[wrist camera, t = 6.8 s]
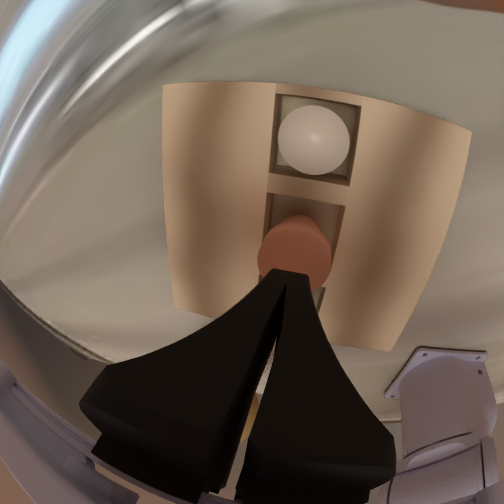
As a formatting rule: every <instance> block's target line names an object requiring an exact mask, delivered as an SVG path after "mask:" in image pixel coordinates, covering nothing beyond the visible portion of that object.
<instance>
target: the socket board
mask: <svg viewBox="0 0 504 504" xmlns="http://www.w3.org/2000/svg"><path fill="white" fill-rule="evenodd" d="M309 105H314V106H321V107H324V108H327V109H329V110H331V111H333V112H334V113H335V114H337V115H338V116H339V117H340V118H341V120H342V121H343V122H344V124H345V126H346V128H347V130H348V133H349V139H350V144H349V150H348V153H347V156H346V158H345V160H344V161H343V162H342V163H341V165H340V166H338V167H337V168H336V169H334V170H333V171H331V172H328V173H325V174H321V175H310V174H305V173H302V172H300V171H298V170H296V169H295V168H293V167H292V166H291V165H289V164H288V163H287V161H286V160H285V159H284V157H283V156H282V154H281V152H280V149H279V145H278V131H279V128H280V125H281V123H282V121H283V120H284V118H285V117H286V116H287V115H288V114H289V113H290V112H292V111H293V110H295V109H297V108H300V107H303V106H309ZM471 134H472V132H471V131H469V130H467V129H464V128H462V127H460V126H457V125H455V124H452V123H450V122H447V121H445V120H442V119H440V118H437V117H434V116H431V115H428V114H426V113H423V112H420V111H417V110H413V109H410V108H407V107H404V106H400V105H397V104H393V103H390V102H386V101H382V100H378V99H374V98H370V97H365V96H361V95H356V94H351V93H346V92H340V91H335V90H329V89H322V88H315V87H308V86H300V85H290V84H279V83H264V82H232V81H225V82H193V83H178V84H167V85H163V99H162V169H163V193H164V209H165V223H166V235H167V246H168V256H169V265H170V274H171V282H172V290H173V297H174V304H175V307H176V308H179V309H183V310H186V311H190V312H194V313H197V314H201V315H205V316H208V317H212V318H216V319H217V318H218V317H220V316H221V315H222V314H224V313H225V312H226V311H228V310H229V309H230V308H231V307H233V306H234V305H235V304H236V303H238V302H239V301H240V300H241V299H242V298H244V297H245V296H246V295H247V294H248V293H249V292H250V291H251V290H252V289H253V288H254V287H255V286H256V285H257V284H258V283H259V282H260V281H261V280H262V279H263V277H262V275H261V273H260V271H259V268H258V263H257V256H258V252H259V249H260V247H261V245H262V243H263V241H264V239H265V237H266V235H267V234H268V232H269V231H270V230H271V229H272V228H274V227H275V226H277V225H278V224H280V223H282V222H283V221H284V220H285V219H286V218H288V217H290V216H292V215H306V216H309V217H311V218H313V219H314V220H316V221H317V222H318V223H319V225H320V226H321V228H322V231H323V234H324V235H325V236H326V238H327V239H328V241H329V244H330V247H331V270H330V273H329V276H328V278H327V280H326V281H325V282H324V283H323V284H322V285H321V286H320V287H319V288H317V289H316V290H314V291H312V296H313V300H314V303H315V307H316V310H317V313H318V316H319V319H320V321H321V324H322V327H323V329H324V332H325V334H326V336H327V339H328V341H329V343H333V344H339V345H346V346H352V347H359V348H366V349H373V350H381V351H389V352H391V350H392V349H393V347H394V345H395V344H396V342H397V340H398V338H399V337H400V335H401V333H402V331H403V330H404V328H405V326H406V324H407V322H408V320H409V318H410V317H411V315H412V313H413V311H414V309H415V307H416V305H417V303H418V301H419V299H420V297H421V295H422V292H423V290H424V288H425V286H426V284H427V282H428V279H429V277H430V275H431V272H432V270H433V268H434V265H435V263H436V260H437V258H438V255H439V253H440V250H441V248H442V245H443V242H444V240H445V237H446V234H447V231H448V228H449V225H450V222H451V219H452V216H453V213H454V209H455V206H456V203H457V199H458V195H459V192H460V188H461V184H462V180H463V176H464V171H465V167H466V162H467V157H468V152H469V147H470V141H471Z"/></svg>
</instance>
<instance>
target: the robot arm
mask: <svg viewBox="0 0 504 504" xmlns="http://www.w3.org/2000/svg"><path fill="white" fill-rule="evenodd" d="M276 337H277V339H276ZM275 340H276V345H275V352H274V358H273V363H272V366H271V370H270V373H269V377H268V380H267V383H266V386H265V390H264V393H263V396H262V399H261V402H260V405H259V408H258V411H257V414H256V417H255V420H254V423H253V426H252V429H251V432H250V435H249V437H248V443H247V448H246V453H245V459H244V464H243V467H242V471H241V473H240V476H239V479H238V482H237V485H236V494H235V497H234V501H233V500H229V499H225V498H222V497H218V496H214V495H211V494H208V493H209V491H210V492H213V493H216V494H218V493H219V491H220V489H222V488H224V487H225V486H226V483H227V480H228V477H229V474H230V471H231V468H232V465H233V462H234V459H235V455H236V452H237V449H238V446H239V443H240V440H241V437H242V433H243V430H244V427H245V424H246V421H247V417H248V414H249V411H250V408H251V404H252V401H253V398H254V394H255V392H256V389H257V386H258V383H259V381H260V379H261V376H262V374H263V371H264V369H265V366H266V364H267V361H268V358H269V356H270V353H271V351H272V348H273V345H274V343H275ZM487 357H488V354H487V353H486V352H469V351H453V350H440V349H429V348H418V349H417V350H416V351H415V352H414V354H413V355H412V357H411V358H410V360H409V361H408V363H407V364H406V365H405V367H404V368H403V370H402V371H401V372H400V374H399V375H398V377H397V378H396V379H395V381H394V382H393V383H392V384H391V386H390V387H389V388H388V390H387V391H386V392H385V393H384V398H387V399H400V406H401V424H402V460H399V461H396V451H395V443H394V437H393V435H392V434H391V433H390V432H389V431H388V430H387V429H386V428H385V426H384V425H383V424H382V423H381V422H380V421H379V420H378V418H377V417H376V416H375V415H374V414H373V412H372V411H371V410H370V409H369V407H368V406H367V405H366V403H365V402H364V400H363V399H362V398H361V396H360V395H359V393H358V392H357V390H356V389H355V387H354V386H353V384H352V383H351V381H350V380H349V378H348V376H347V375H346V373H345V372H344V370H343V368H342V366H341V365H340V363H339V361H338V359H337V357H336V355H335V353H334V351H333V349H332V347H331V345H330V343H329V341H328V339H327V336H326V334H325V332H324V329H323V327H322V324H321V321H320V319H319V316H318V313H317V310H316V307H315V303H314V300H313V296H312V292H311V287H310V279H309V276H308V275H307V274H302V273H297V272H292V271H286V270H281V269H276V268H273V269H271V270H270V271H269V272H268V273H267V274H266V276H265V277H264V278H263V279H262V280H261V281H260V282H259V283H258V284H257V285H256V286H255V287H254V288H253V289H252V290H251V291H250V292H249V293H248V294H247V295H246V296H245V297H244V298H242V299H241V300H240V301H239V302H238V303H236V304H235V305H234V306H233V307H231V308H230V309H229V310H228V311H226V312H225V313H224V314H222V315H221V316H220V317H218V318H217V319H215V320H214V321H212V322H211V323H209V324H208V325H206V326H205V327H203V328H201V329H200V330H198V331H196V332H194V333H192V334H191V335H189V336H187V337H185V338H183V339H181V340H179V341H177V342H175V343H173V344H170V345H168V346H166V347H163V348H161V349H159V350H156V351H154V352H151V353H149V354H146V355H143V356H140V357H137V358H133V359H130V360H126V361H123V362H119V363H115V364H111V365H107V366H106V367H105V368H104V370H103V371H102V372H101V373H100V374H99V375H98V376H97V378H96V379H95V380H94V382H93V383H92V385H91V386H90V388H89V389H88V390H87V392H86V393H85V394H84V396H83V397H82V399H81V400H80V402H79V406H80V409H81V411H82V412H83V413H84V414H85V415H86V417H87V418H88V419H89V420H90V421H91V422H92V423H93V424H94V425H95V426H96V427H97V428H98V429H99V430H100V431H101V432H102V435H101V436H100V438H99V439H98V441H97V442H96V441H94V440H93V439H91V438H89V437H88V436H86V435H85V434H83V433H82V432H80V431H79V430H78V429H76V428H75V427H73V426H72V425H70V424H69V423H68V422H66V421H65V420H64V419H62V418H61V417H60V416H59V415H57V414H56V413H54V412H53V411H52V410H51V409H50V408H48V407H47V406H46V405H45V404H44V403H43V402H41V401H40V400H39V399H38V398H37V397H35V396H34V395H33V394H32V393H31V392H30V391H29V390H28V389H27V388H26V387H25V386H23V384H22V383H20V382H19V381H18V380H17V378H16V376H15V375H14V374H13V372H12V371H11V370H10V369H9V367H8V366H7V365H6V364H5V363H4V362H3V361H2V360H1V358H0V457H1V459H2V460H3V462H4V463H5V465H6V466H7V468H8V469H9V471H10V472H11V474H12V475H13V476H14V478H15V479H16V481H17V482H18V483H19V485H20V486H21V487H22V488H23V490H24V491H25V492H26V493H27V495H28V496H29V497H30V498H31V499H32V501H33V502H34V503H35V504H136V503H137V500H138V499H139V495H138V494H137V493H135V492H133V491H131V490H129V489H127V488H125V487H124V486H122V485H120V484H118V483H116V482H115V481H113V480H111V479H109V478H107V477H106V476H104V475H102V474H101V473H99V472H98V471H96V469H95V464H94V462H95V463H97V464H99V465H100V466H102V467H103V468H105V469H107V470H109V471H110V472H112V473H114V474H115V475H117V476H119V477H121V478H123V479H124V480H126V481H128V482H130V483H132V484H134V485H136V486H138V487H140V488H142V489H144V490H146V491H148V492H150V493H152V494H155V495H157V496H159V497H161V498H164V499H166V500H169V501H171V502H173V503H176V504H364V503H367V502H368V500H369V493H370V490H371V489H374V488H376V487H378V486H380V485H381V488H380V491H379V495H378V504H504V480H502V481H500V482H499V476H498V463H497V454H496V448H495V440H494V438H492V437H489V435H490V434H491V432H492V431H493V428H494V426H495V423H496V418H497V404H496V400H495V396H494V393H493V389H492V386H491V382H490V379H489V376H488V373H487V370H486V367H485V364H484V361H485V360H486V359H487ZM93 461H94V462H93Z"/></svg>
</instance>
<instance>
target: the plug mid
mask: <svg viewBox="0 0 504 504" xmlns="http://www.w3.org/2000/svg"><path fill="white" fill-rule="evenodd" d="M257 263H258V268H259V271H260V273H261V275H262V277H263V278H264V277H265V276H266V274H267V273H268V272H269V271H270V270H271V269H273V268H276V269H281V270H286V271H292V272H297V273H302V274H307V275H308V276H309V279H310V287H311V292H312V291H314V290H316V289H317V288H319V287H320V286H321V285H322V284H323V283H324V282H325V281H326V280H327V278H328V276H329V273H330V270H331V247H330V244H329V241H328V239H327V238H326V236H325V235H324V234H323V231H322V228H321V226H320V225H319V223H318V222H317V221H316V220H314V219H313V218H311V217H309V216H306V215H292V216H290V217H288V218H286V219H285V220H284V221H283V222H282V223H280V224H278V225H277V226H275V227H274V228H272V229H271V230H270V231H269V232H268V234H267V235H266V237H265V239H264V241H263V243H262V245H261V247H260V249H259V252H258V256H257Z"/></svg>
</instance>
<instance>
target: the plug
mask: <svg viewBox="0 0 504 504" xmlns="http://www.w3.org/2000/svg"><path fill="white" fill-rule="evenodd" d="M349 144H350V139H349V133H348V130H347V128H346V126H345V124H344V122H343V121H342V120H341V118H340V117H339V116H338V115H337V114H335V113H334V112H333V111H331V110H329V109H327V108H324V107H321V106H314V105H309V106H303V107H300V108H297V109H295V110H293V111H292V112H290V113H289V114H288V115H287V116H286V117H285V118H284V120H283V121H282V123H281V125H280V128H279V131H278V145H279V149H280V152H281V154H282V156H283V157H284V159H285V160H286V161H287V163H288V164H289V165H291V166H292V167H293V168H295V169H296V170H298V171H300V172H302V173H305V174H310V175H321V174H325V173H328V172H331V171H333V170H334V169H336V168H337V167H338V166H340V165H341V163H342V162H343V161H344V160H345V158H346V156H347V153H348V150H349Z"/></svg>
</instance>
